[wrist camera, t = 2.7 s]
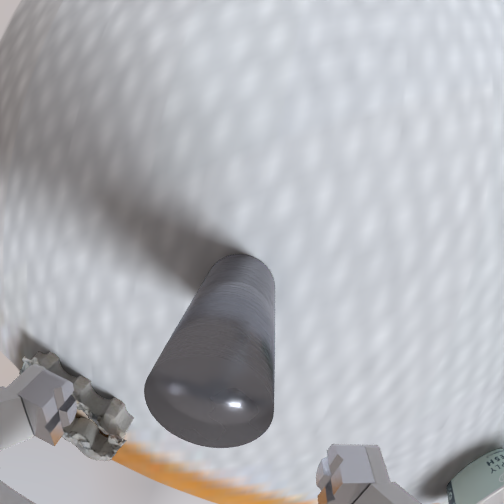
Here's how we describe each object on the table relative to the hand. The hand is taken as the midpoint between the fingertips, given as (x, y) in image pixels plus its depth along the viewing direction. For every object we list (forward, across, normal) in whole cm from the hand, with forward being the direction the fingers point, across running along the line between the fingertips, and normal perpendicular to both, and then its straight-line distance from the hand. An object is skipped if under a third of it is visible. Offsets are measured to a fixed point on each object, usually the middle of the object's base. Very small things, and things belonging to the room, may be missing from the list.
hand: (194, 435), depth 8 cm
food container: (+12, -34, +19) cm, 41 cm away
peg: (+11, 0, -1) cm, 11 cm away
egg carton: (+12, +12, +14) cm, 21 cm away
